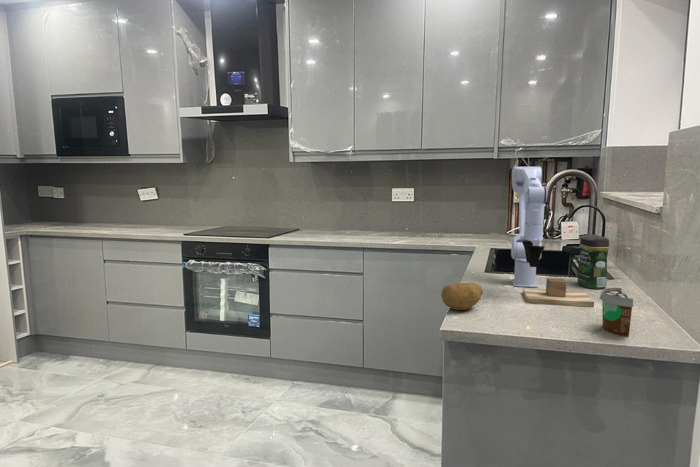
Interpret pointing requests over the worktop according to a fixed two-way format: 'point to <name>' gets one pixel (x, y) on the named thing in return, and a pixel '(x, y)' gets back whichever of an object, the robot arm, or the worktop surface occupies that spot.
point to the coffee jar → (593, 261)
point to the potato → (461, 295)
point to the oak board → (558, 298)
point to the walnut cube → (556, 287)
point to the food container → (616, 311)
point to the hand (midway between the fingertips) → (531, 264)
